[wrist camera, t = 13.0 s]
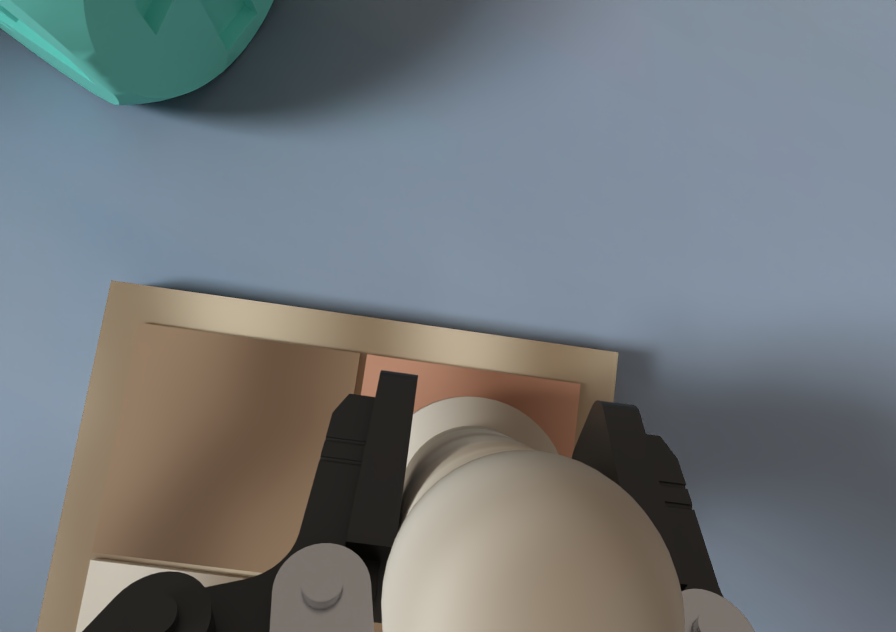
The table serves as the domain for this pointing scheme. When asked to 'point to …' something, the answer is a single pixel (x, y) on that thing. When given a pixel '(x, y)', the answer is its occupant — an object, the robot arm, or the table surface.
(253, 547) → the board
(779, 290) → the table surface
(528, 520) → the pawn
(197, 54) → the decorative dice
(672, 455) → the robot arm
